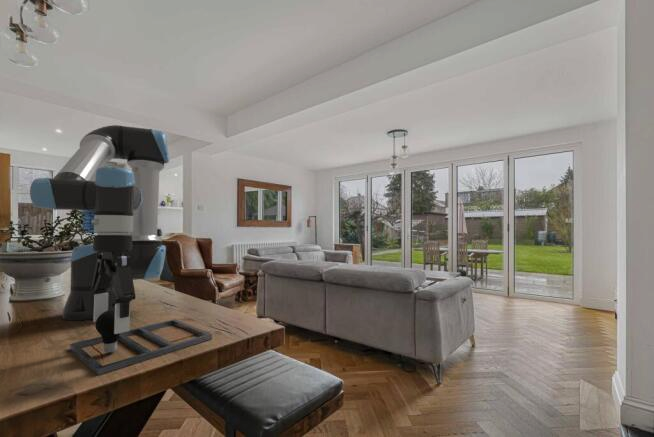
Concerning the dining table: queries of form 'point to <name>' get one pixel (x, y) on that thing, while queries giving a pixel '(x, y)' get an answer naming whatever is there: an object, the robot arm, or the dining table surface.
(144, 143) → the robot arm
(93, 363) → the gray divided frame
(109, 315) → the light bulb
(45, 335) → the dining table surface
